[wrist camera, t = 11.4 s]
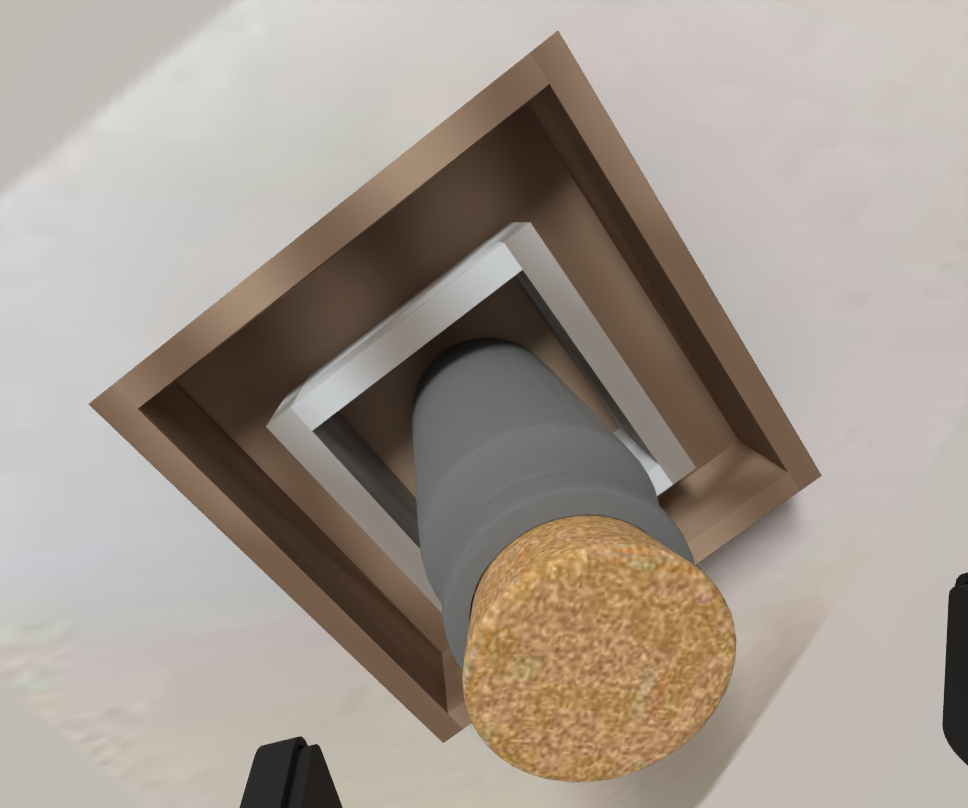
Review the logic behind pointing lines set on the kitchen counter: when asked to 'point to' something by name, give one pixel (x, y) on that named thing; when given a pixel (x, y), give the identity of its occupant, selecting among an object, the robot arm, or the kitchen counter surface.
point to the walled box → (429, 332)
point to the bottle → (559, 573)
